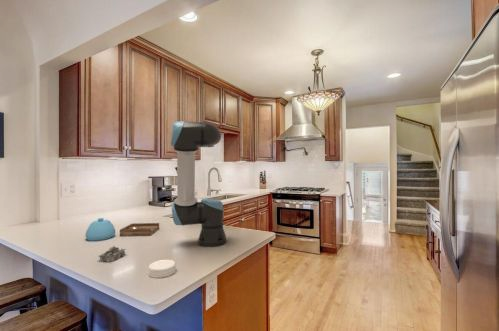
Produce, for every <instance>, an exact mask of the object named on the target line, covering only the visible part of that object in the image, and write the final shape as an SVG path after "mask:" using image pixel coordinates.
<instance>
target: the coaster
mask: <svg viewBox="0 0 499 331" xmlns="http://www.w3.org/2000/svg"><path fill="white" fill-rule="evenodd" d="M176 267H177V265H176V261H175V260H172V259H161V260H156V261H154V262H153V261H152V263H150V264H149V265H148V276H149V277H151V278H154V279H162V278H163V279H164V278H166V277H169V276H172V275H173V274H175V272H176V271H177V269H176Z"/></svg>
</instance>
